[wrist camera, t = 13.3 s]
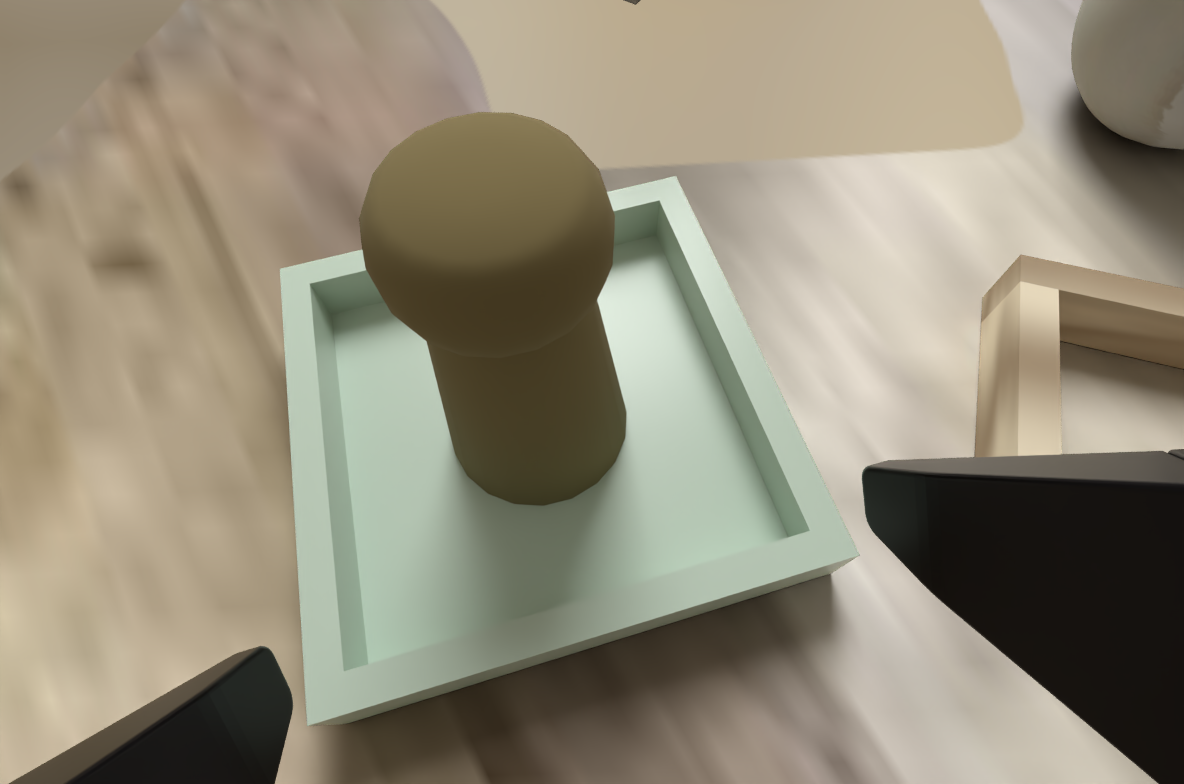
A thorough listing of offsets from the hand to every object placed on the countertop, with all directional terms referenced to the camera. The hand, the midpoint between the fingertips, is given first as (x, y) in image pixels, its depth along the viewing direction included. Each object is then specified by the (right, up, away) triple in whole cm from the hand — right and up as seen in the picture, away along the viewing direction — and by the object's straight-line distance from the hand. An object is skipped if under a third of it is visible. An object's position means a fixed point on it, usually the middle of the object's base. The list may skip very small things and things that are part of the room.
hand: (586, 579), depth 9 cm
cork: (-2, +2, +12) cm, 13 cm away
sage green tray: (-2, +2, +13) cm, 13 cm away
